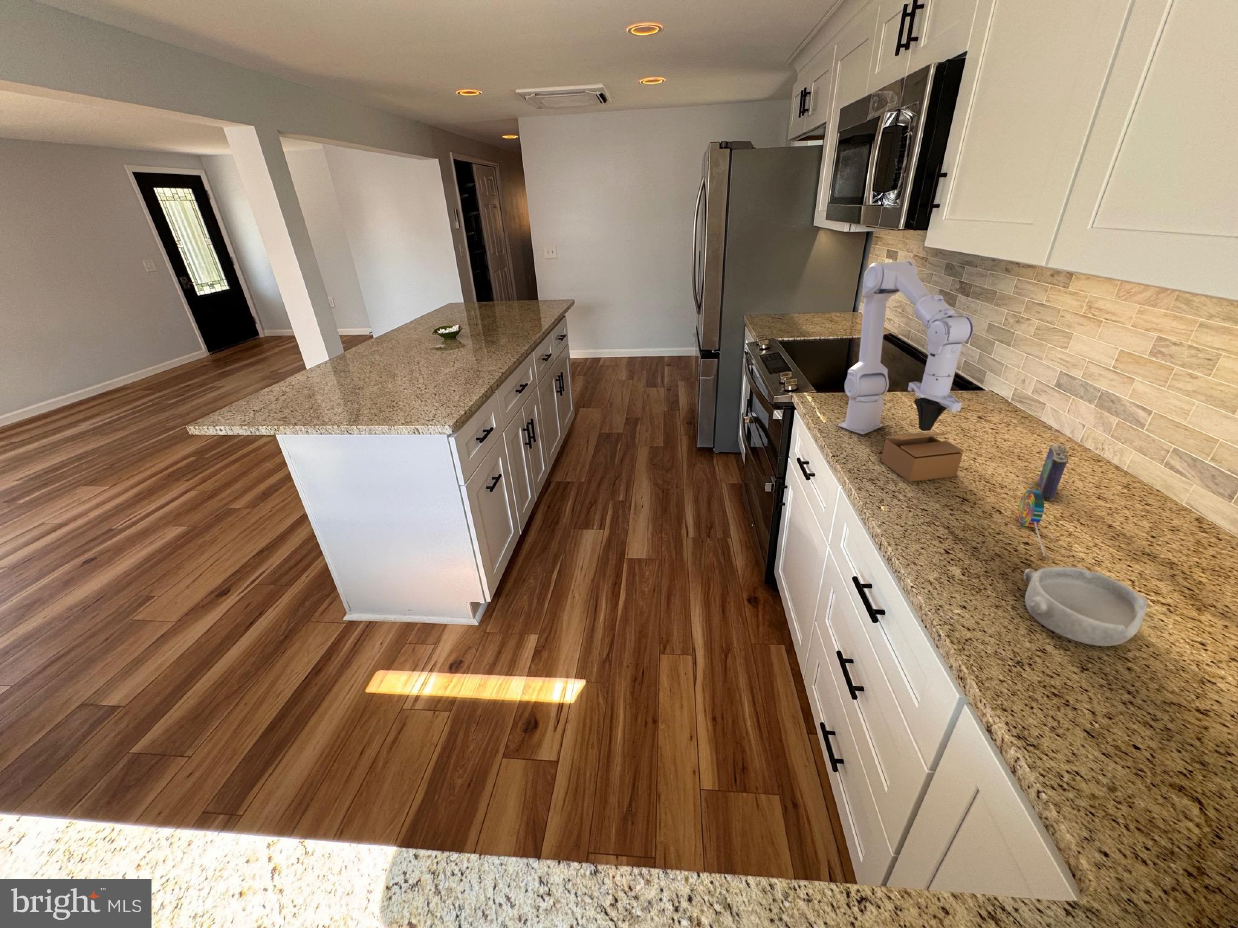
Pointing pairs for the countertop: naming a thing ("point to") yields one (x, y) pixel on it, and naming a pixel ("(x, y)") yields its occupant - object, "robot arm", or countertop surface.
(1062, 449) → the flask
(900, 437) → the flap
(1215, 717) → the countertop surface
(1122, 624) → the dish
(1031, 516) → the lollipop
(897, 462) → the carton
